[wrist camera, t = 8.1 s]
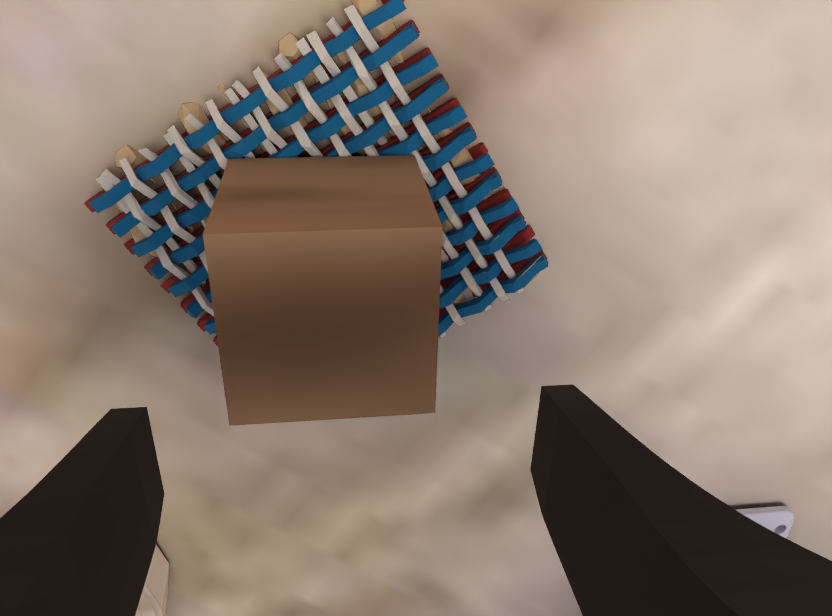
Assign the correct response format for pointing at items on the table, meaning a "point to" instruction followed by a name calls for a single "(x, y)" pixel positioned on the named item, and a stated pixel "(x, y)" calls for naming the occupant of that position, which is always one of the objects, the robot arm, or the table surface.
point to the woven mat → (464, 247)
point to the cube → (325, 287)
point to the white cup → (155, 587)
